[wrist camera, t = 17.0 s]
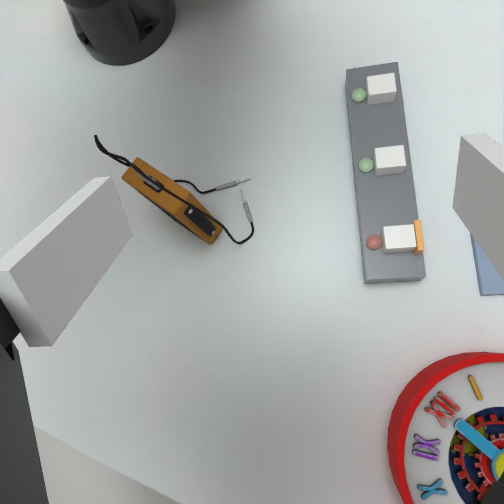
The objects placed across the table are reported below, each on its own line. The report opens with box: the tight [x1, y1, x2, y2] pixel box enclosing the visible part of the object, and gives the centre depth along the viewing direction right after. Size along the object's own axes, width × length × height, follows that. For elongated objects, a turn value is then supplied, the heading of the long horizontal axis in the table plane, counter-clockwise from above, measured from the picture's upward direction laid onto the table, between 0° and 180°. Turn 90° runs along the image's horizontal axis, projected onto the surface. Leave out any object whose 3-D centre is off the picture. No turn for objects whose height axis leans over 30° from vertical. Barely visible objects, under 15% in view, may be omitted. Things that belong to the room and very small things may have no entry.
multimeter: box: [94, 135, 254, 244], centre depth 42 cm, size 15×10×20 cm
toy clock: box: [387, 352, 504, 504], centre depth 37 cm, size 20×6×20 cm
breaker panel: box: [346, 62, 426, 284], centre depth 46 cm, size 26×6×5 cm, turn 2°
